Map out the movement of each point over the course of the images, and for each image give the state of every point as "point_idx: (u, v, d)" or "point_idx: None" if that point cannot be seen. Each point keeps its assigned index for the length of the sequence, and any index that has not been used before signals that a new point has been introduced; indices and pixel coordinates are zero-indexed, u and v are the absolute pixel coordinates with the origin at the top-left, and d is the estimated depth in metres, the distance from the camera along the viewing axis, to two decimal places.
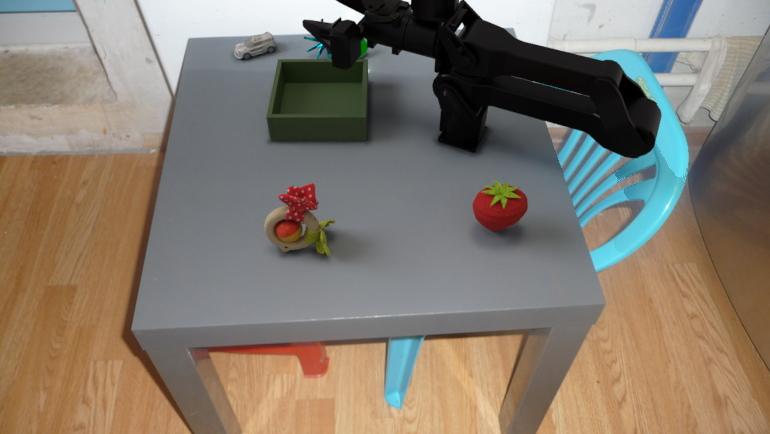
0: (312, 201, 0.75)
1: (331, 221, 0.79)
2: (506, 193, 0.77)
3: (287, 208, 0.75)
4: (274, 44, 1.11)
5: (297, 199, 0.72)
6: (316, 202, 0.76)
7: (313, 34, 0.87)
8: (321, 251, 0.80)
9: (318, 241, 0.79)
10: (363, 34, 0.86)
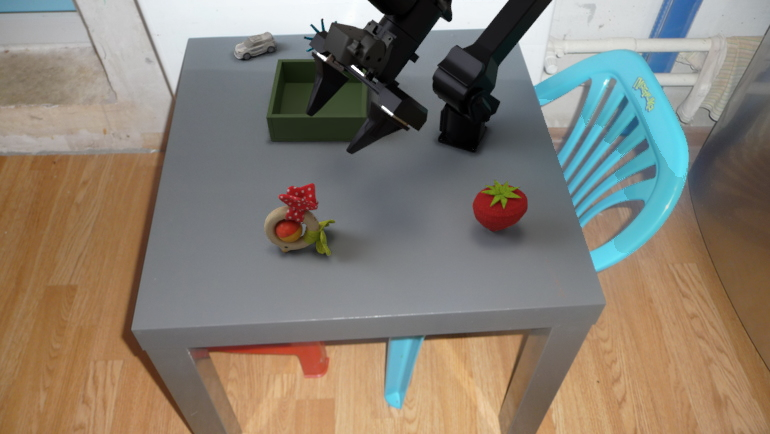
0: (312, 201, 0.75)
1: (331, 221, 0.79)
2: (506, 193, 0.77)
3: (287, 208, 0.76)
4: (274, 44, 1.11)
5: (297, 199, 0.72)
6: (316, 202, 0.76)
7: (366, 144, 0.73)
8: (321, 251, 0.80)
9: (318, 241, 0.79)
10: None
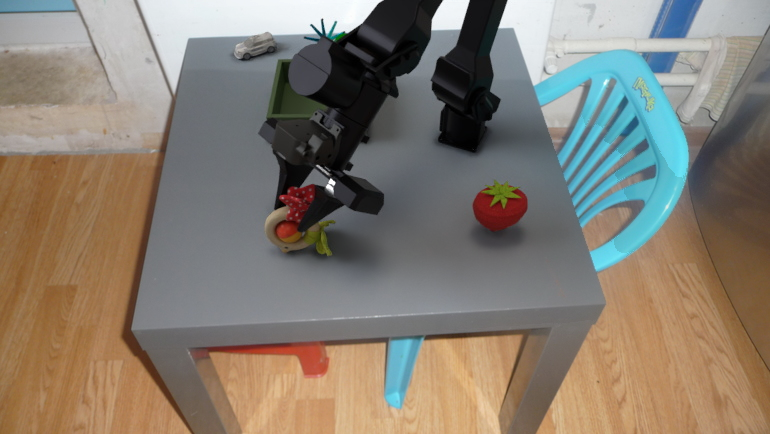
0: None
1: (331, 221, 0.79)
2: (506, 193, 0.77)
3: (288, 208, 0.75)
4: (274, 44, 1.11)
5: (298, 200, 0.72)
6: None
7: (316, 221, 0.74)
8: (321, 252, 0.80)
9: (318, 241, 0.79)
10: (342, 172, 0.72)
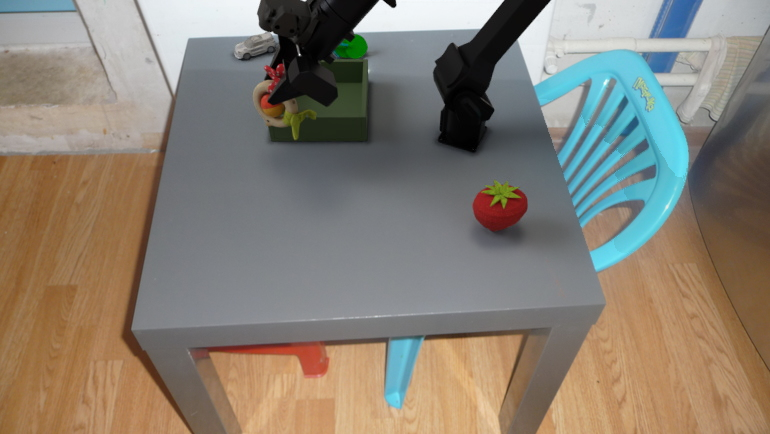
0: None
1: (311, 112, 0.83)
2: (506, 193, 0.77)
3: (272, 82, 0.81)
4: (274, 44, 1.11)
5: (272, 72, 0.78)
6: None
7: (285, 99, 0.79)
8: None
9: None
10: (315, 58, 0.75)
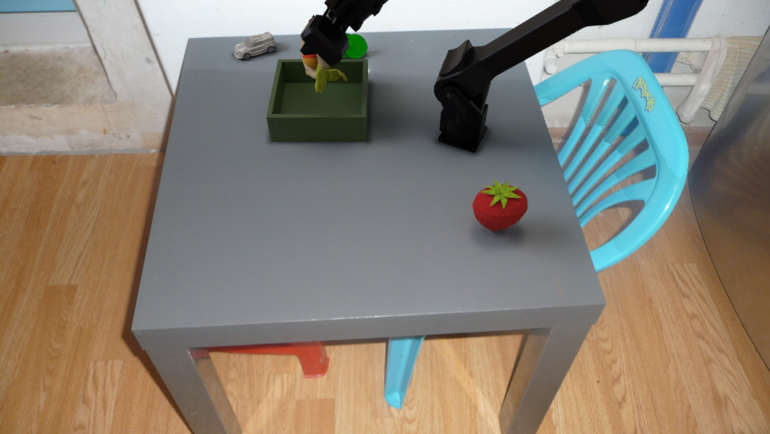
0: None
1: (338, 72, 0.91)
2: (506, 193, 0.77)
3: None
4: (274, 44, 1.11)
5: None
6: None
7: (313, 52, 0.88)
8: None
9: None
10: (339, 22, 0.82)
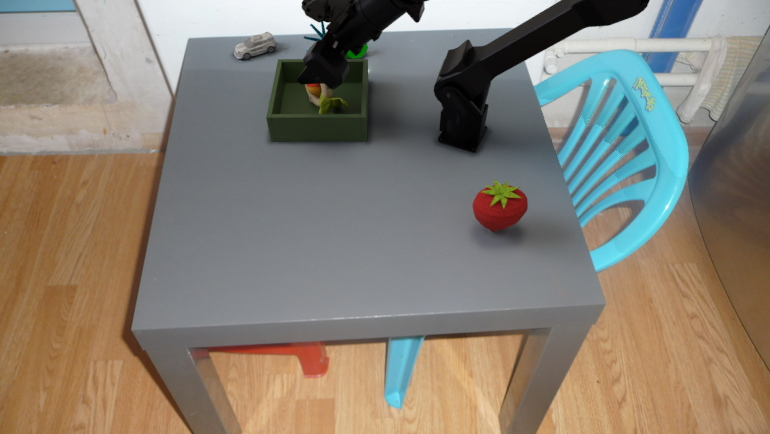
0: None
1: (341, 100, 0.95)
2: (506, 193, 0.77)
3: None
4: (274, 44, 1.11)
5: None
6: None
7: (309, 82, 0.89)
8: None
9: None
10: (340, 46, 0.85)
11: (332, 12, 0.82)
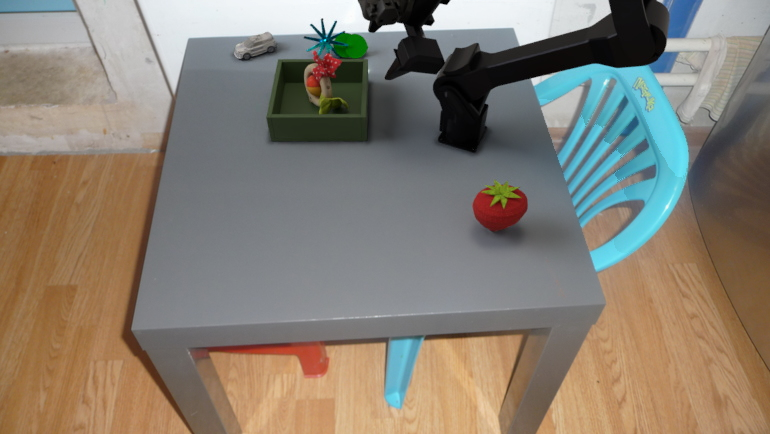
0: (330, 71, 0.93)
1: (341, 100, 0.95)
2: (506, 193, 0.77)
3: (317, 66, 0.95)
4: (274, 44, 1.11)
5: (313, 57, 0.91)
6: (332, 74, 0.93)
7: (400, 75, 0.87)
8: None
9: None
10: (417, 29, 0.81)
11: None
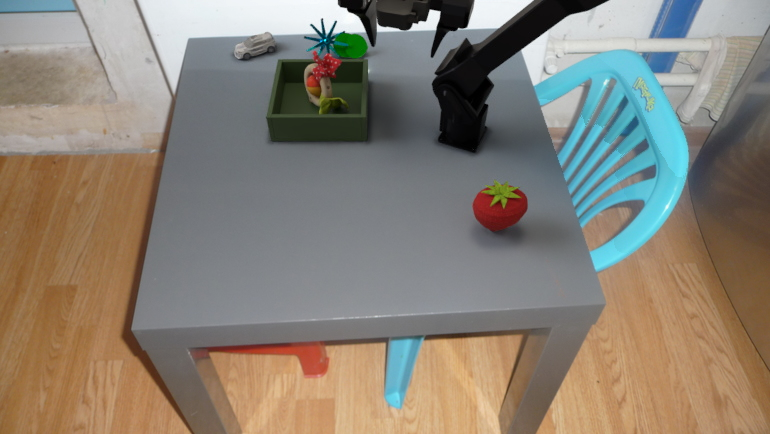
0: (330, 71, 0.93)
1: (341, 100, 0.95)
2: (506, 193, 0.77)
3: (317, 66, 0.95)
4: (274, 44, 1.11)
5: (313, 57, 0.91)
6: (332, 74, 0.93)
7: None
8: None
9: None
10: None
11: None
